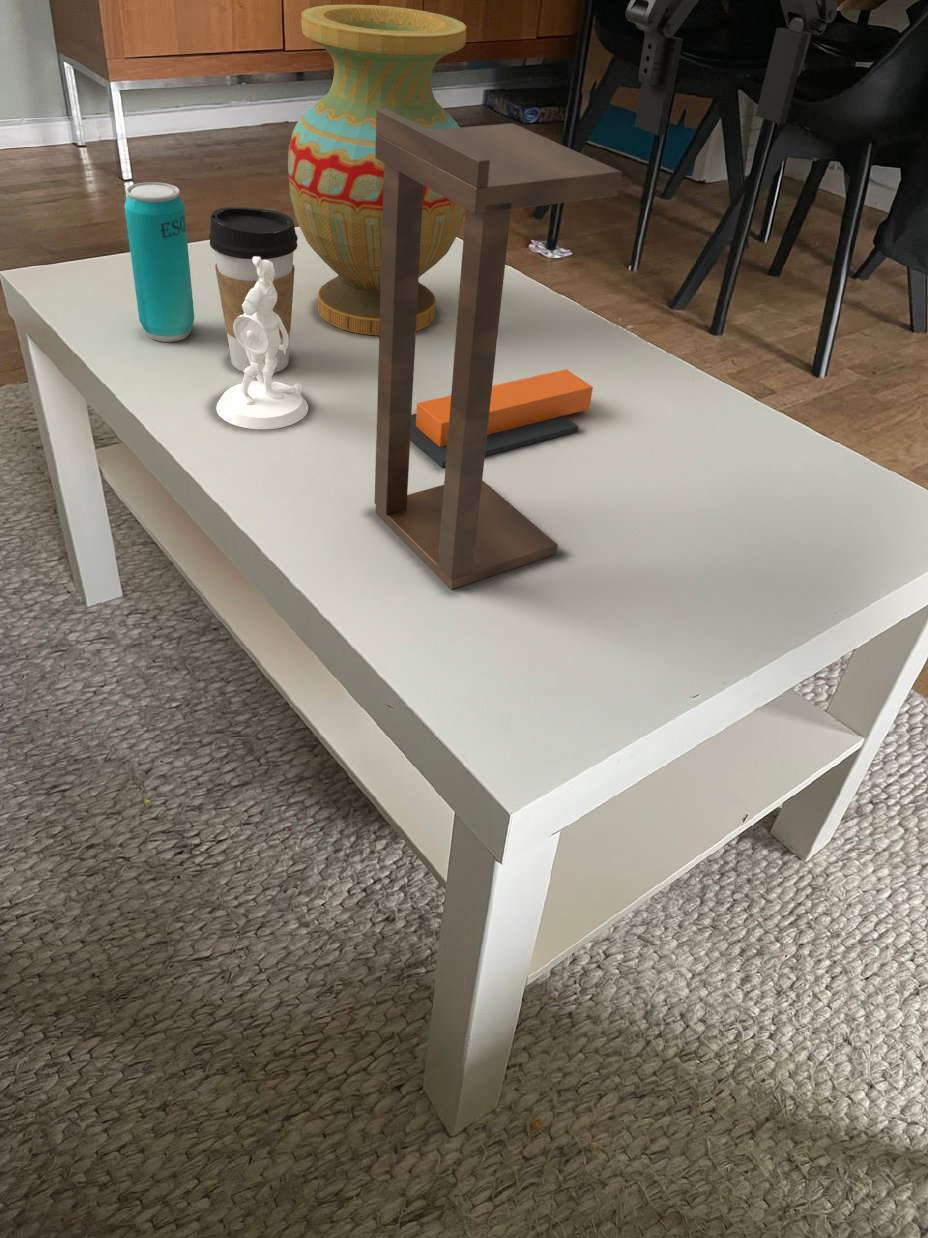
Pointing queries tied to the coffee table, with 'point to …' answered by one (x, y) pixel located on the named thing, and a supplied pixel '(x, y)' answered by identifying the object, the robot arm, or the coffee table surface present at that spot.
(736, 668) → the coffee table surface
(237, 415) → the figurine
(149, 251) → the beverage can
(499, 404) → the orange block
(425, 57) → the vase
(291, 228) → the coffee cup
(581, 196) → the walnut rack
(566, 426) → the rubber pad
